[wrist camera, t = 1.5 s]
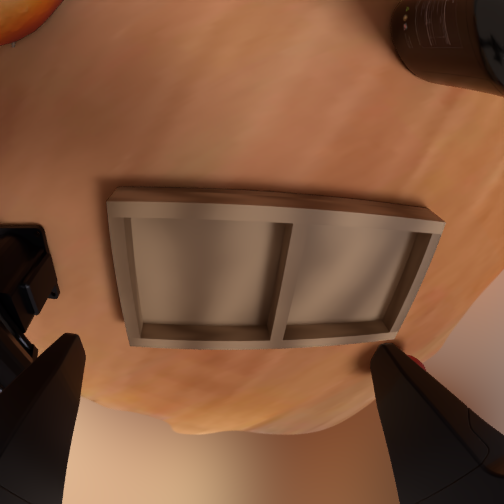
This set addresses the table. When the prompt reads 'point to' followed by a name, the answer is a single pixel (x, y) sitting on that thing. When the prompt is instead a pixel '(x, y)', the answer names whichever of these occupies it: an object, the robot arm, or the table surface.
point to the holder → (264, 267)
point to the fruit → (23, 17)
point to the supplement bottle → (452, 42)
